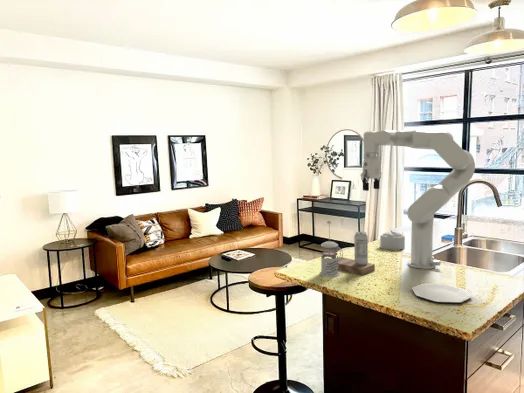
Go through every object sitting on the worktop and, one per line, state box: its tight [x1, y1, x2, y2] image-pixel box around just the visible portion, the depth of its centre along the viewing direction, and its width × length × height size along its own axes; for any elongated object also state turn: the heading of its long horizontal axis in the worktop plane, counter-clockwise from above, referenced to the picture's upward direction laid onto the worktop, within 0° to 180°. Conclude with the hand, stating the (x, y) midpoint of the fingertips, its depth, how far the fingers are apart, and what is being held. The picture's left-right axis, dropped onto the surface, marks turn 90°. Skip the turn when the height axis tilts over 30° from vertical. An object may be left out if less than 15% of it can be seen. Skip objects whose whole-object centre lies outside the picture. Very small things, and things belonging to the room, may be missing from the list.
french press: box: [319, 220, 344, 278], centre depth 178 cm, size 10×12×25 cm
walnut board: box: [329, 256, 376, 276], centre depth 186 cm, size 20×10×3 cm, turn 42°
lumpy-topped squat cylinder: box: [379, 231, 406, 251], centre depth 223 cm, size 10×13×9 cm
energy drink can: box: [353, 231, 369, 265], centre depth 182 cm, size 6×6×15 cm
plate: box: [411, 282, 472, 304], centre depth 149 cm, size 20×20×2 cm
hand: (371, 189), depth 197 cm, fingers open, 9 cm apart
